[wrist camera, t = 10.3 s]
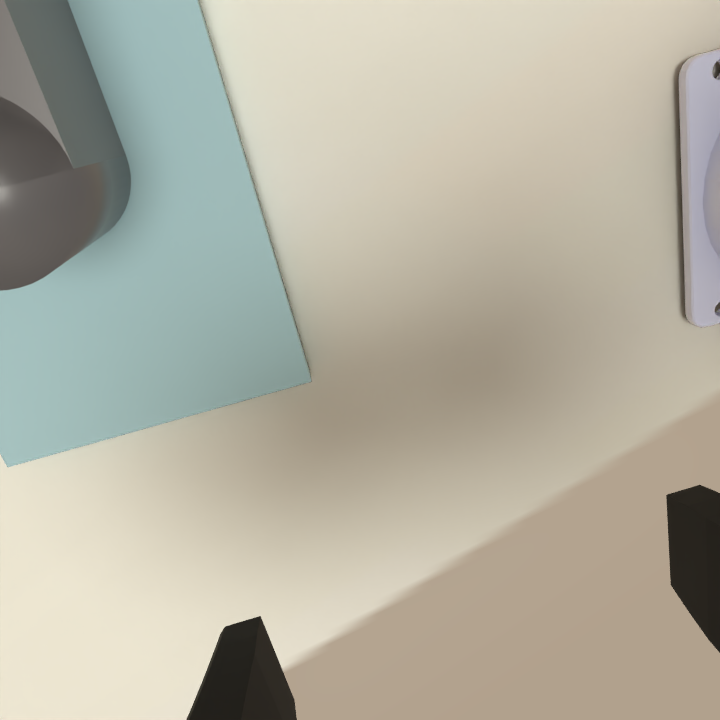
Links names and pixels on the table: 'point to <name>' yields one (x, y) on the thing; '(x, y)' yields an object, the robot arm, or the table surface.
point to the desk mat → (152, 259)
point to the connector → (52, 144)
